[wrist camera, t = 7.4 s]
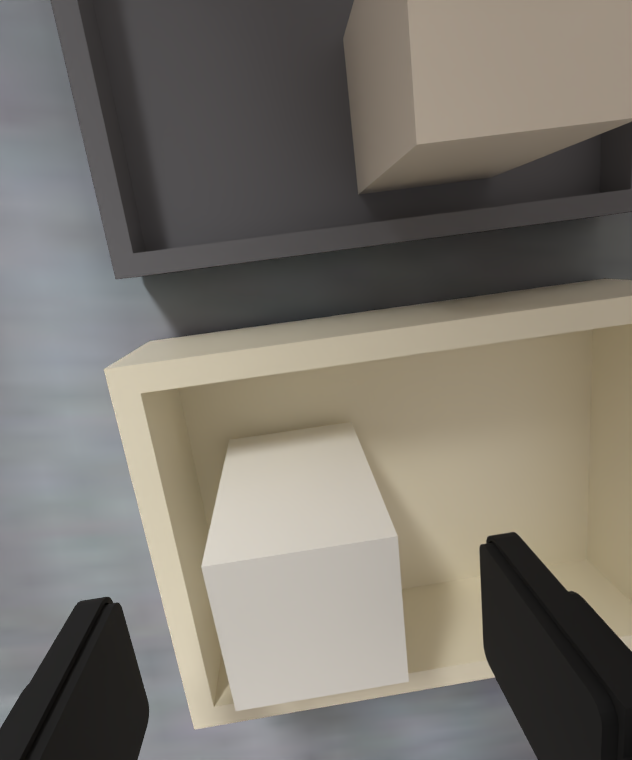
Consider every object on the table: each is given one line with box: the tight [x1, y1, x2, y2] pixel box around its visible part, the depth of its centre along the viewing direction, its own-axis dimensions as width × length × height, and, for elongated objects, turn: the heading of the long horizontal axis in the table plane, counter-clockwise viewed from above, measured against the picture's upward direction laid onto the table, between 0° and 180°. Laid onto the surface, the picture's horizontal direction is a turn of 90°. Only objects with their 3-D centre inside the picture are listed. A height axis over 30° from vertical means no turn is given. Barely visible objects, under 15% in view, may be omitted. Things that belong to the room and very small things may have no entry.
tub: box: [104, 279, 632, 730], centre depth 15 cm, size 11×15×4 cm
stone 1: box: [201, 422, 409, 711], centre depth 13 cm, size 4×4×6 cm
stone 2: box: [343, 0, 632, 194], centre depth 10 cm, size 4×4×6 cm
